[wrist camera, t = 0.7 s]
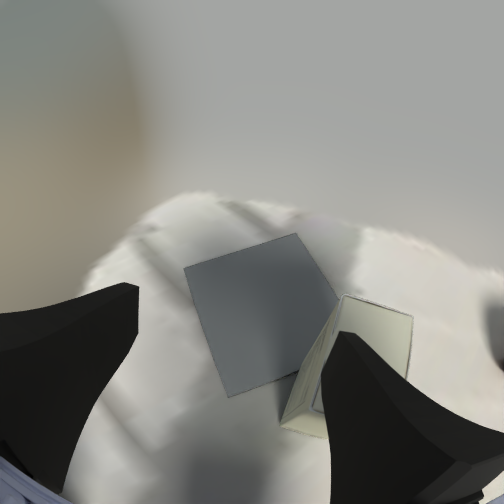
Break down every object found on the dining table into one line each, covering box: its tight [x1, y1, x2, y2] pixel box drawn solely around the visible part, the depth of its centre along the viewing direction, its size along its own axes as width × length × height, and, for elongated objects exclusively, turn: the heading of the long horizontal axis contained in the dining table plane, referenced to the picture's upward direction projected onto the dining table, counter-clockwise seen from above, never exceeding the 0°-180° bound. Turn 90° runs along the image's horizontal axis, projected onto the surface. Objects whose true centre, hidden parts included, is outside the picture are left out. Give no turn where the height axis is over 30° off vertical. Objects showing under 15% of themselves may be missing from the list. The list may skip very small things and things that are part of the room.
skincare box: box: [280, 293, 414, 439], centre depth 16 cm, size 6×4×12 cm
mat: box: [184, 233, 339, 398], centre depth 27 cm, size 14×13×1 cm
